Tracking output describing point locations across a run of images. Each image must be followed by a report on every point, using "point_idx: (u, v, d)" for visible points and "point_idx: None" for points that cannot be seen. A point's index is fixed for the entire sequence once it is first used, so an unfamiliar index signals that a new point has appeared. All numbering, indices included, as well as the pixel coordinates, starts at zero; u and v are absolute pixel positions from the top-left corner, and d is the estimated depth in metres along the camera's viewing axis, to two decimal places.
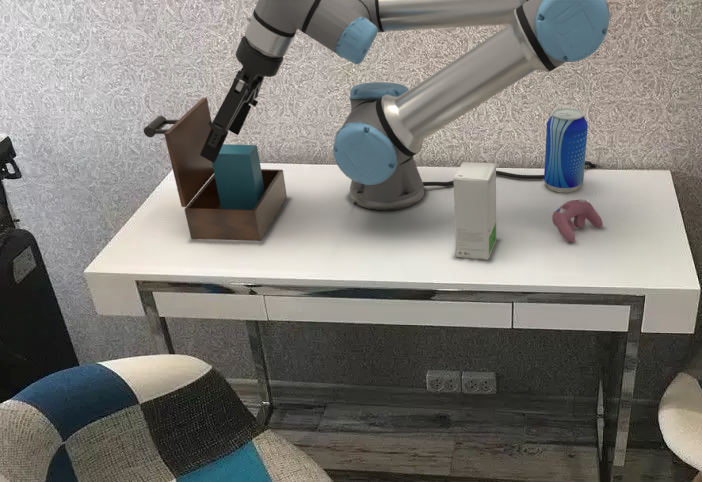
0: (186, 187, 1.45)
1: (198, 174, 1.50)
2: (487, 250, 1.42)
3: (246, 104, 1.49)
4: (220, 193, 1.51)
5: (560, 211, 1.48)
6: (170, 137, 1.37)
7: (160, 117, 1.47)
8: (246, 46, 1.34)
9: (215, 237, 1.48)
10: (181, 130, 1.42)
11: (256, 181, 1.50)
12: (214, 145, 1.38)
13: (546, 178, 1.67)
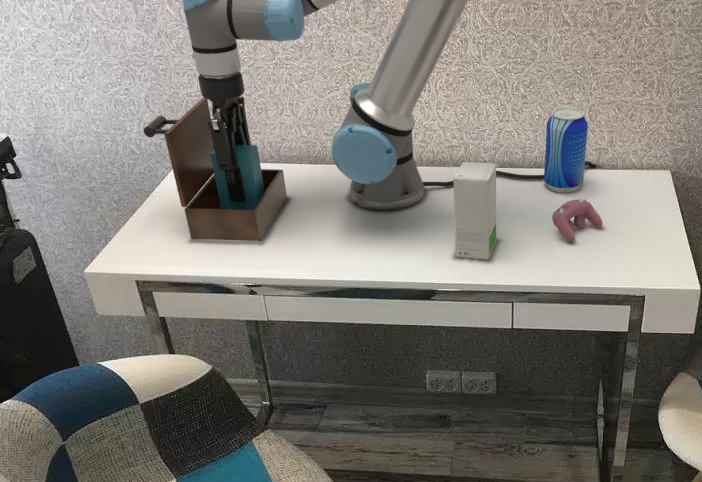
0: (186, 187, 1.45)
1: (198, 174, 1.50)
2: (487, 250, 1.42)
3: None
4: (220, 193, 1.51)
5: (560, 211, 1.48)
6: (170, 137, 1.37)
7: (160, 117, 1.47)
8: (202, 80, 1.38)
9: (215, 237, 1.48)
10: (181, 130, 1.42)
11: (256, 181, 1.50)
12: (233, 184, 1.47)
13: (546, 178, 1.67)
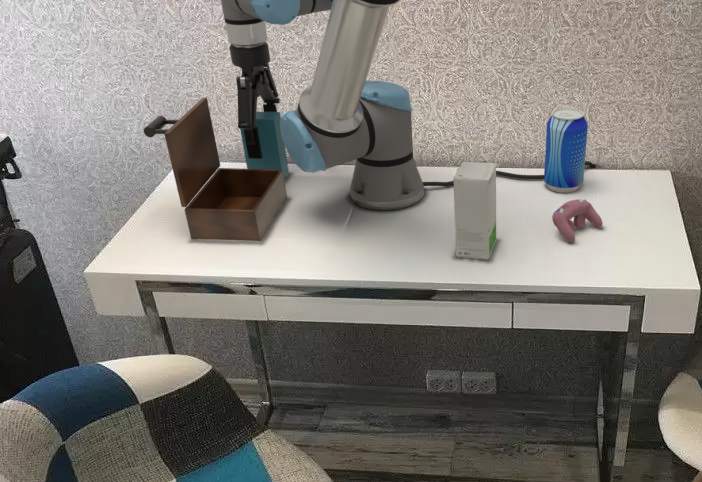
0: (186, 187, 1.45)
1: (198, 174, 1.50)
2: (487, 250, 1.42)
3: (271, 105, 1.70)
4: (246, 156, 1.68)
5: (560, 211, 1.48)
6: (170, 137, 1.37)
7: (160, 117, 1.47)
8: (233, 49, 1.54)
9: (215, 237, 1.48)
10: (181, 130, 1.42)
11: (279, 144, 1.67)
12: (252, 142, 1.59)
13: (546, 178, 1.67)
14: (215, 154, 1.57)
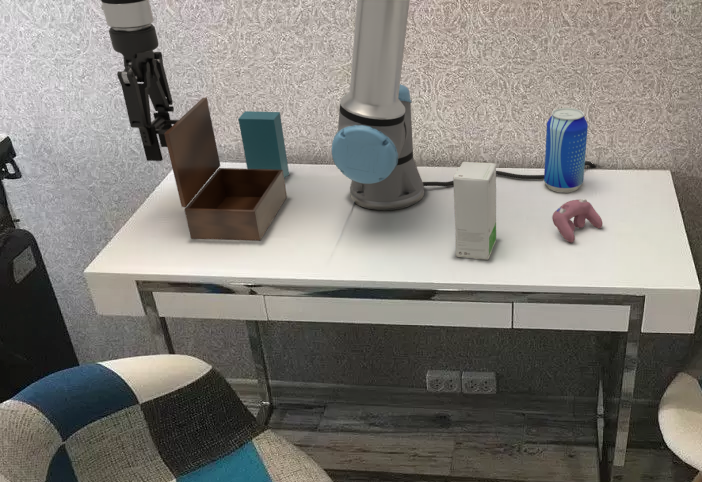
0: (186, 187, 1.45)
1: (198, 174, 1.50)
2: (487, 250, 1.42)
3: (163, 113, 1.48)
4: (246, 156, 1.68)
5: (560, 211, 1.48)
6: (170, 137, 1.37)
7: (160, 117, 1.47)
8: (112, 33, 1.34)
9: (215, 237, 1.48)
10: (181, 130, 1.42)
11: (279, 144, 1.67)
12: (148, 143, 1.43)
13: (546, 178, 1.67)
14: (215, 154, 1.57)
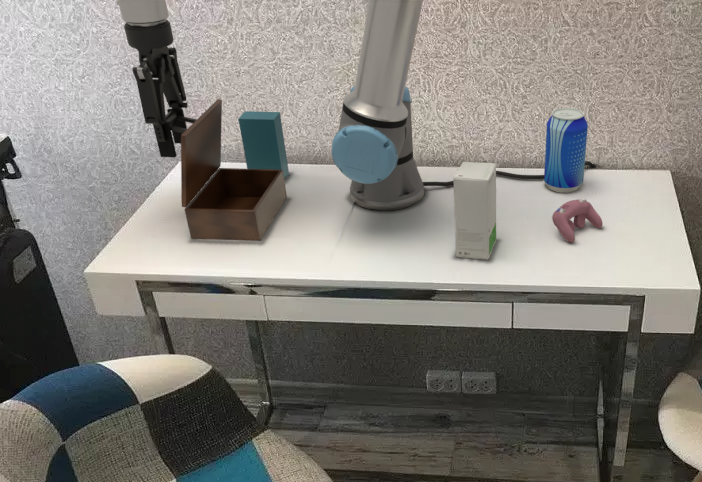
0: (189, 188, 1.45)
1: (201, 175, 1.50)
2: (487, 250, 1.42)
3: (177, 109, 1.48)
4: (246, 156, 1.68)
5: (560, 211, 1.48)
6: (186, 139, 1.37)
7: (173, 112, 1.47)
8: (127, 28, 1.33)
9: (215, 237, 1.48)
10: (196, 132, 1.42)
11: (279, 144, 1.67)
12: (162, 139, 1.42)
13: (546, 178, 1.67)
14: (218, 155, 1.57)
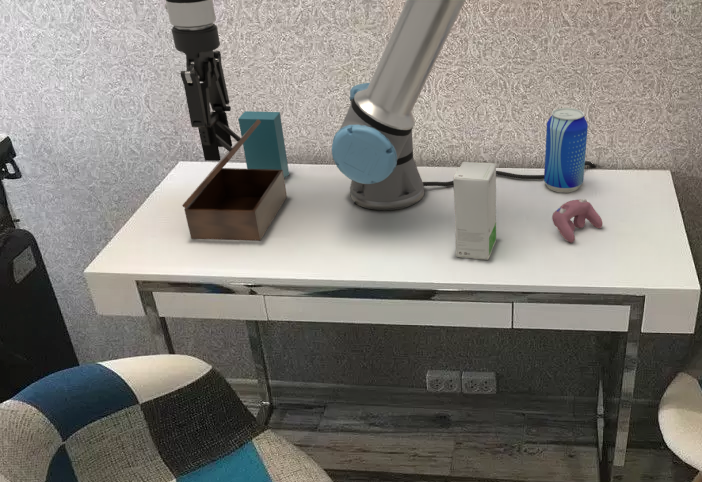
0: None
1: None
2: (487, 250, 1.42)
3: (220, 113, 1.47)
4: (246, 156, 1.68)
5: (560, 211, 1.48)
6: None
7: (217, 115, 1.47)
8: (175, 32, 1.33)
9: (215, 237, 1.48)
10: None
11: (279, 144, 1.67)
12: (208, 143, 1.42)
13: (546, 178, 1.67)
14: None
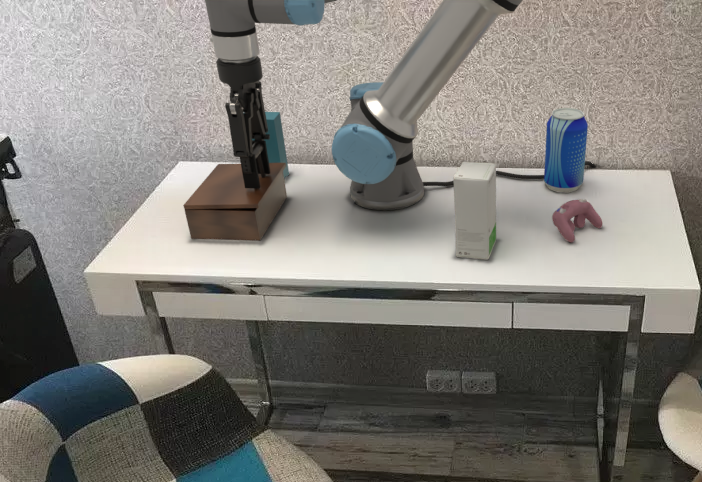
0: None
1: None
2: (487, 250, 1.42)
3: (260, 141, 1.50)
4: None
5: (560, 211, 1.48)
6: None
7: (262, 149, 1.50)
8: (220, 65, 1.36)
9: (215, 237, 1.48)
10: None
11: (279, 144, 1.67)
12: (249, 171, 1.45)
13: (546, 178, 1.67)
14: None
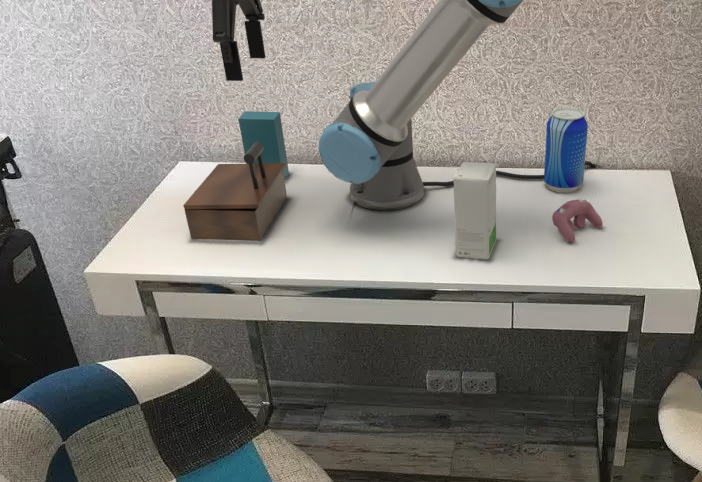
0: None
1: None
2: (487, 250, 1.42)
3: (254, 21, 1.44)
4: None
5: (560, 211, 1.48)
6: (254, 207, 1.44)
7: (262, 149, 1.50)
8: None
9: (215, 237, 1.48)
10: None
11: (279, 144, 1.67)
12: (230, 60, 1.33)
13: (546, 178, 1.67)
14: None
